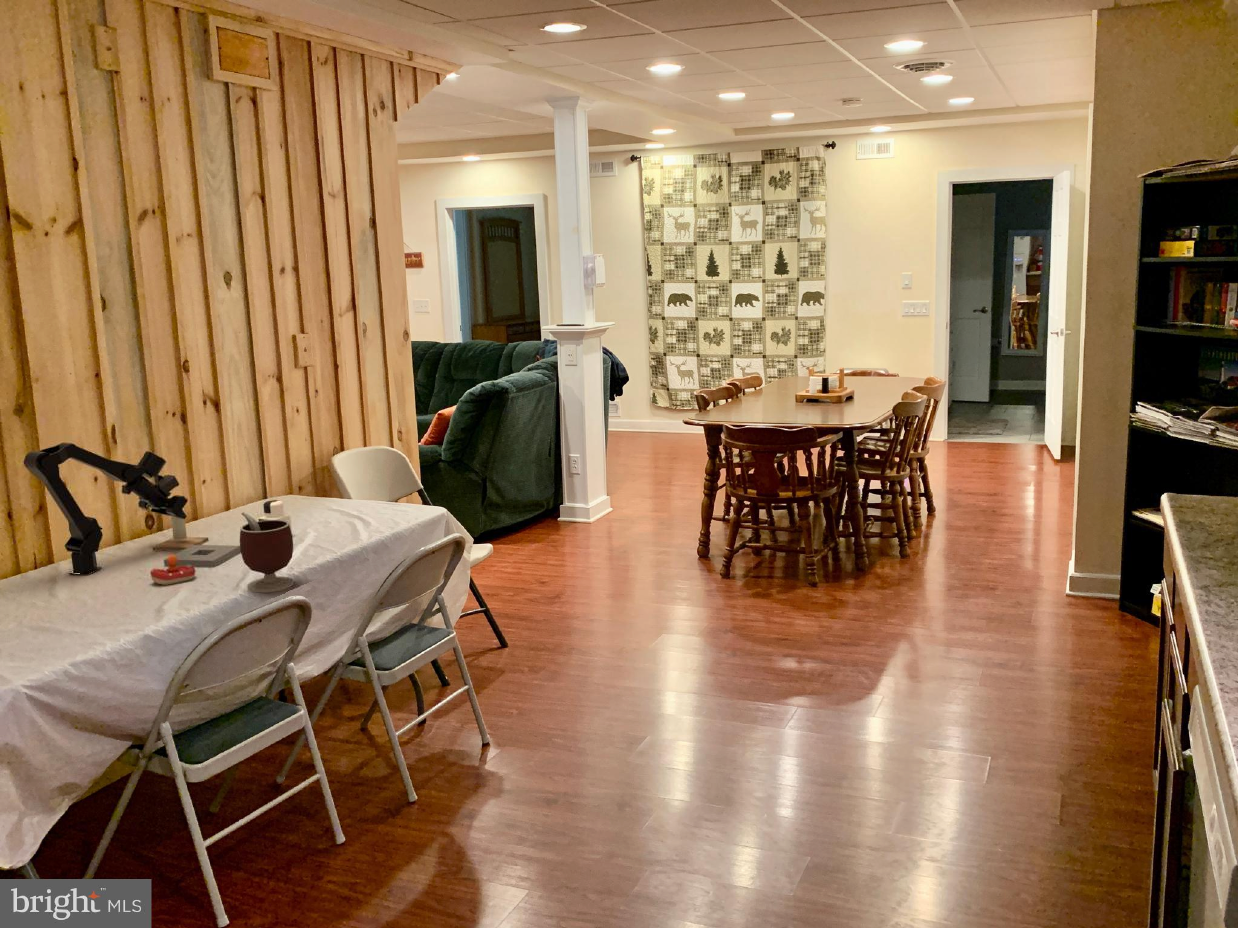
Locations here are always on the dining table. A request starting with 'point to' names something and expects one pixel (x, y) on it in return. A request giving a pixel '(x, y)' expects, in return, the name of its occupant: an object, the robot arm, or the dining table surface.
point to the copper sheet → (180, 543)
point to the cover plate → (205, 555)
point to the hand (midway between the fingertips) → (181, 517)
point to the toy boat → (173, 573)
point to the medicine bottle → (275, 512)
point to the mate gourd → (266, 552)
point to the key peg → (178, 528)
